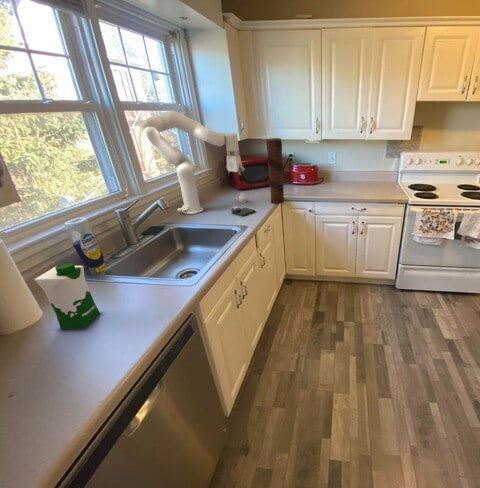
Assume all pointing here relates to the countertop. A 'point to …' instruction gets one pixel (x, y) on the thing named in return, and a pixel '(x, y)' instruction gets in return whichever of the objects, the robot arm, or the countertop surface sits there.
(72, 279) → the milk carton
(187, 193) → the robot arm
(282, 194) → the wafer roll
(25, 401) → the countertop surface
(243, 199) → the white rounded lump
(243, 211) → the scale
